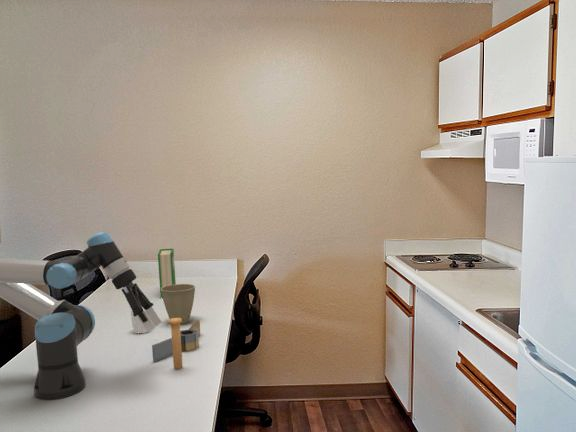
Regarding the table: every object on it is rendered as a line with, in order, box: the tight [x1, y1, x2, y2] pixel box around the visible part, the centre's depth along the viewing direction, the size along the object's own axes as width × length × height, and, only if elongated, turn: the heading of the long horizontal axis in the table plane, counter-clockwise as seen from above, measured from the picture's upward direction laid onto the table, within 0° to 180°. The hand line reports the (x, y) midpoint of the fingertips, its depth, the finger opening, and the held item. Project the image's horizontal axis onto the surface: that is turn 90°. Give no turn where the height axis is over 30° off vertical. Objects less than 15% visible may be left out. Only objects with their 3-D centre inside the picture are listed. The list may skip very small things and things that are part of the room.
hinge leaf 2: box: [182, 319, 201, 353], centre depth 212 cm, size 8×21×6 cm, turn 175°
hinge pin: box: [168, 318, 184, 370], centre depth 185 cm, size 4×4×17 cm
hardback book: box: [157, 248, 177, 298], centre depth 295 cm, size 18×7×24 cm, turn 10°
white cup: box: [130, 307, 148, 335], centre depth 229 cm, size 8×8×10 cm
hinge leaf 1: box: [151, 328, 199, 363], centre depth 201 cm, size 20×8×6 cm, turn 145°
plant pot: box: [161, 283, 196, 325], centre depth 240 cm, size 15×15×16 cm
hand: (155, 327), depth 180 cm, fingers open, 13 cm apart
